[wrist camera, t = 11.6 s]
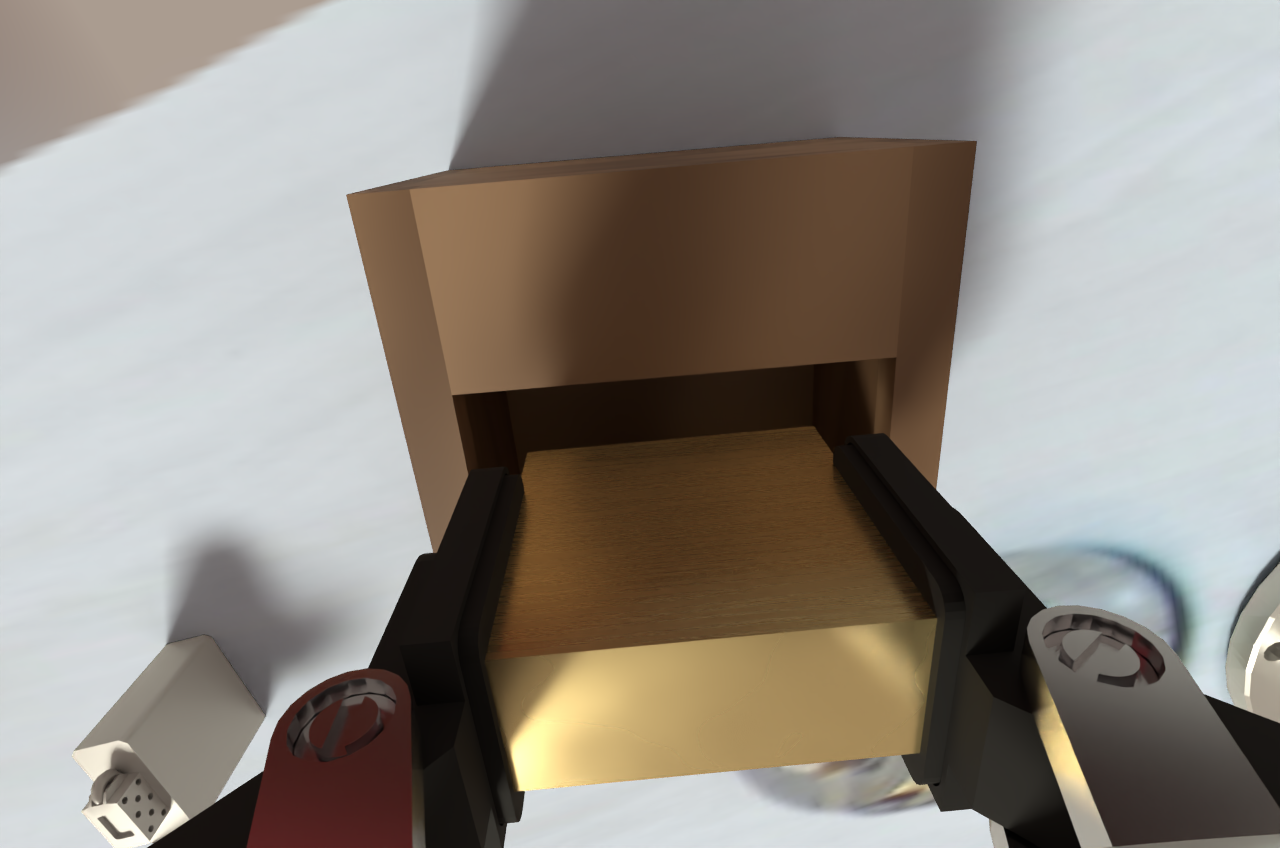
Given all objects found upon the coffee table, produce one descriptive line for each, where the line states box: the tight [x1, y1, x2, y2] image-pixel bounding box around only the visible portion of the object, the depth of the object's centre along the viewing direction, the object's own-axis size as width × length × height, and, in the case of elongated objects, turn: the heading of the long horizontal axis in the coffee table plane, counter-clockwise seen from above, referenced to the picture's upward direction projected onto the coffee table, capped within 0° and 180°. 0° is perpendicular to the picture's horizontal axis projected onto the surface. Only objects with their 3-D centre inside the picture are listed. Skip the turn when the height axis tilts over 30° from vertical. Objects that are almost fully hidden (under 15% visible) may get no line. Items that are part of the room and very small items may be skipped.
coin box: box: [346, 137, 977, 553], centre depth 16 cm, size 10×11×7 cm
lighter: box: [72, 635, 266, 848], centre depth 20 cm, size 7×2×8 cm, turn 15°
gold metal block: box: [485, 426, 937, 792], centre depth 10 cm, size 5×2×5 cm, turn 95°
